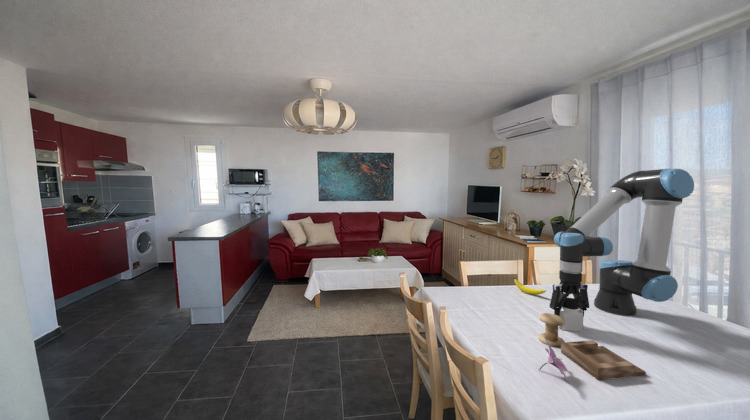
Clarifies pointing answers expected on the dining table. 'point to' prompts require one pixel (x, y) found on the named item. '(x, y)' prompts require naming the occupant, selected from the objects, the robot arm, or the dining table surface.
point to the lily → (555, 360)
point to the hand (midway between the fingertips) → (568, 324)
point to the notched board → (599, 360)
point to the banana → (528, 290)
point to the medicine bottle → (572, 315)
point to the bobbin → (551, 329)
